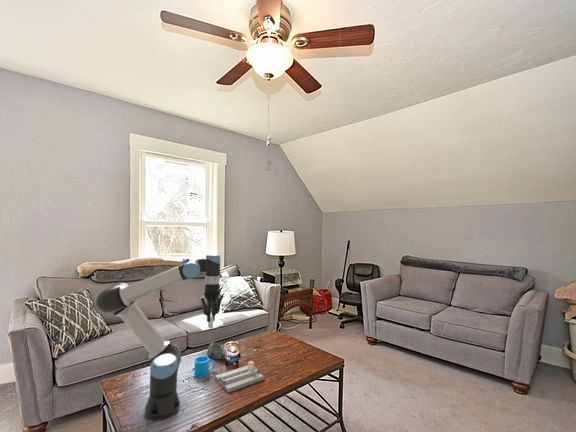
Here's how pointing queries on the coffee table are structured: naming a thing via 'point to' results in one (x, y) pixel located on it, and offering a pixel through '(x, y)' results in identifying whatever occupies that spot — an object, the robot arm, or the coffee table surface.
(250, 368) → the fader tab
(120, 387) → the coffee table surface
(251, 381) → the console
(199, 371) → the mug
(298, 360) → the coffee table surface
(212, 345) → the mineral rock
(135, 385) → the coffee table surface
